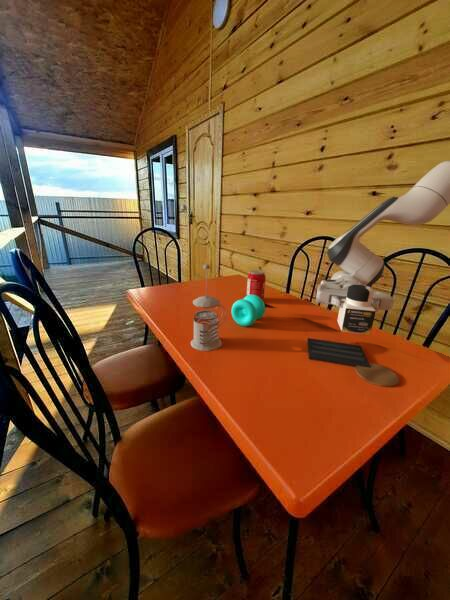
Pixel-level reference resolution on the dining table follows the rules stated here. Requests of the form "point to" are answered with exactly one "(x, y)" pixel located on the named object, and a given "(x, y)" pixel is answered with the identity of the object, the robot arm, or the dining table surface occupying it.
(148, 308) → the dining table surface
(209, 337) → the french press
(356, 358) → the scrub mat
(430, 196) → the robot arm
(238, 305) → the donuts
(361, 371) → the coaster
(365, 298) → the medicine bottle
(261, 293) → the soda can
